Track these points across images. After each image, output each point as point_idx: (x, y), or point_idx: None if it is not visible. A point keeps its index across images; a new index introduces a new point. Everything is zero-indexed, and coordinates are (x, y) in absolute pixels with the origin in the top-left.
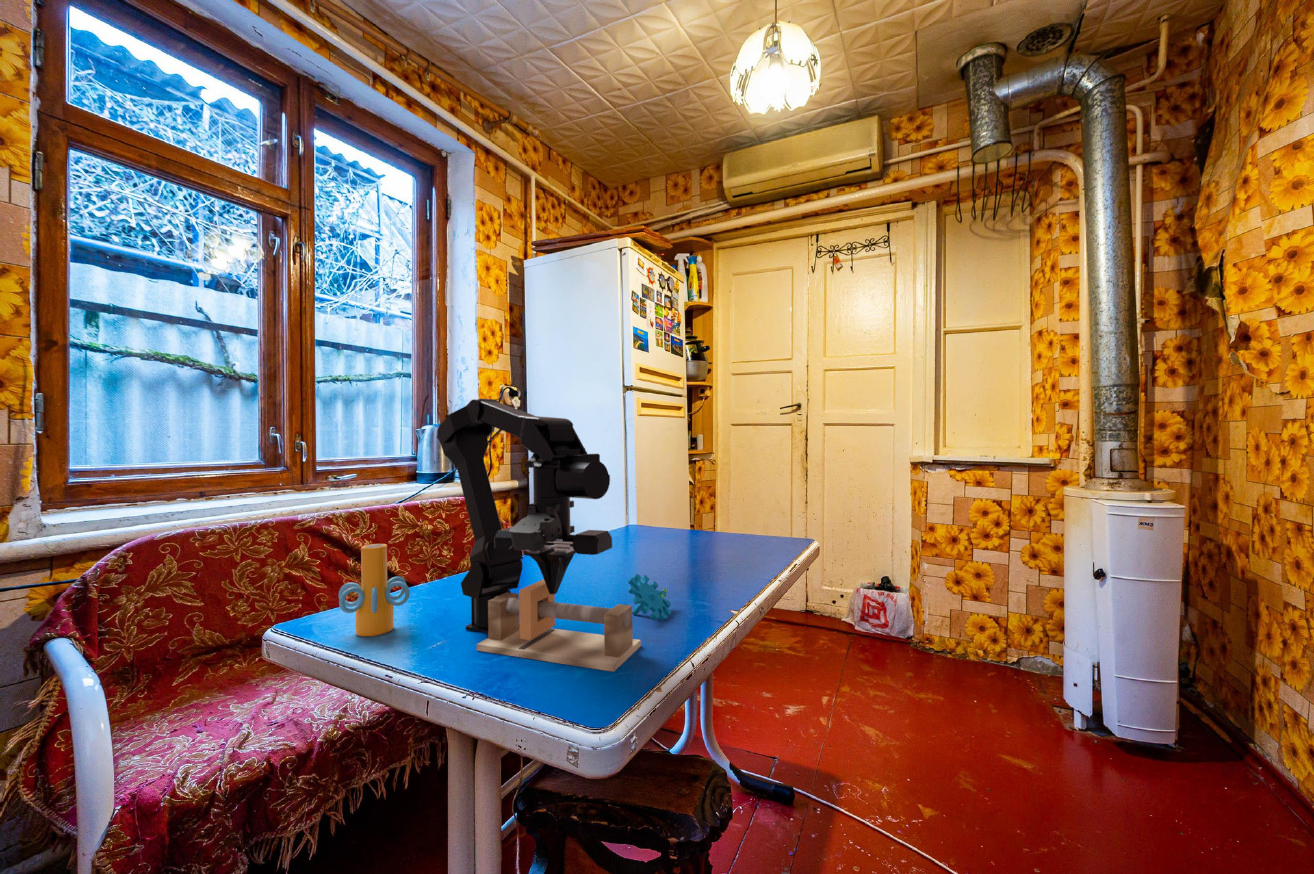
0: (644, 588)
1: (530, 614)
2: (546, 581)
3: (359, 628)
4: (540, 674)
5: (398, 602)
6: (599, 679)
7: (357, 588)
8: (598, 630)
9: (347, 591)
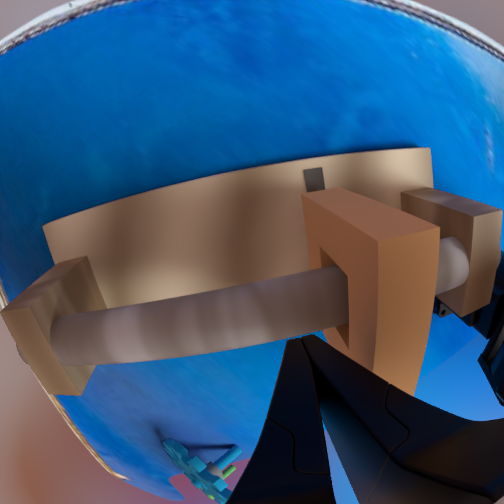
0: (212, 491)
1: (329, 210)
2: (344, 365)
3: None
4: (174, 108)
5: None
6: (50, 175)
7: None
8: (243, 378)
9: None
